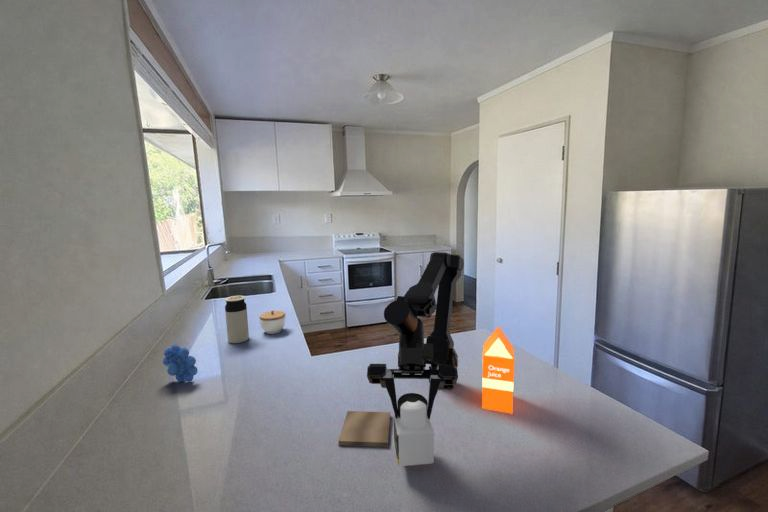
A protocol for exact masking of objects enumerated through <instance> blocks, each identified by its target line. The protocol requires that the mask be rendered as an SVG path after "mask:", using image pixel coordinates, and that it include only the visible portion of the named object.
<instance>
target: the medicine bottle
mask: <svg viewBox="0 0 768 512" xmlns="http://www.w3.org/2000/svg"><path fill="white" fill-rule="evenodd" d="M397 408H398V418H397V419H396V418H395V414H394V413H393V440H394V441H393V443H394V449H395V455H396V461H397V466H398V467H407V466H409V467H410V466H419V465H429V464H434V463H435V456H434V455H435V454H434V453H435V451H434V450H435V449H434V448H435V446H434V445H435V444H434V443H435V438H434V437H435V433H434V428H433V426H432V423H431V418H430V419H428V400H427V399H426V397H425V396H423V395H422V394H419V393H415V392H409V393H403V395H401V396H400V397H399V398H398V400H397Z"/></svg>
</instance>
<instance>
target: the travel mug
mask: <svg viewBox="0 0 768 512" xmlns="http://www.w3.org/2000/svg"><path fill="white" fill-rule="evenodd" d="M245 299H246V297H245V296H244V295H232V296H228V297H225V298H224V301H225V302H226V304H225V306H224V311H225V313H224V314H225V323H226V333H227V342H228V343H230V344H241V343H244V342H246V341H248V340H249V338H250V334H249V322H248V320H249V319H248V310H247V309H248V308H247V307H248V306H247V303H246V302H245Z"/></svg>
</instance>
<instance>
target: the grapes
mask: <svg viewBox="0 0 768 512" xmlns="http://www.w3.org/2000/svg"><path fill="white" fill-rule="evenodd" d="M163 355H164V358H163V359H162V364H163V365H164V366H166V367H167V370H166V371H167V374H168V375H169V376H172V377H175V380H176V381H177V382H179V383H181V382H184V381H185V382H189V383H190V382H192V381H193V379H194V376H196V375H197V374H198V370H199V369H198V367H197V366H196V363H197V359H196V358H195V357H194V356H192V355H190V351H189V350H188V348H187V347H180V346H179V345H178V344H172V345H171V346H170V347H168V348H165V349H164V351H163Z"/></svg>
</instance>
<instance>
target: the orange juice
mask: <svg viewBox="0 0 768 512" xmlns="http://www.w3.org/2000/svg"><path fill="white" fill-rule="evenodd" d="M482 347H483V348H482V379H481V380H482V381H481V384H482V385H481V387H482V388H481V391H482V392H481V393H482V394H481V409H484V410H490V411H496V412H501V413H507V414H514V413H513V406H514V387H515V385H514V384H515V382H514V381H515V380H514V379H515V378H514V377H515V352H514V351H515V350H514V345H512V343H511V341H509V339H508V337H507V336H506V334H505V333H504V332H503V330H502V329H501V328H500V326H499V325H498V326H497V327H496V328H495V329H494V331H492V333H491V334H490V335H489V336H488V338H487V339H486V340H485V341H484V342H483V346H482Z"/></svg>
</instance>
